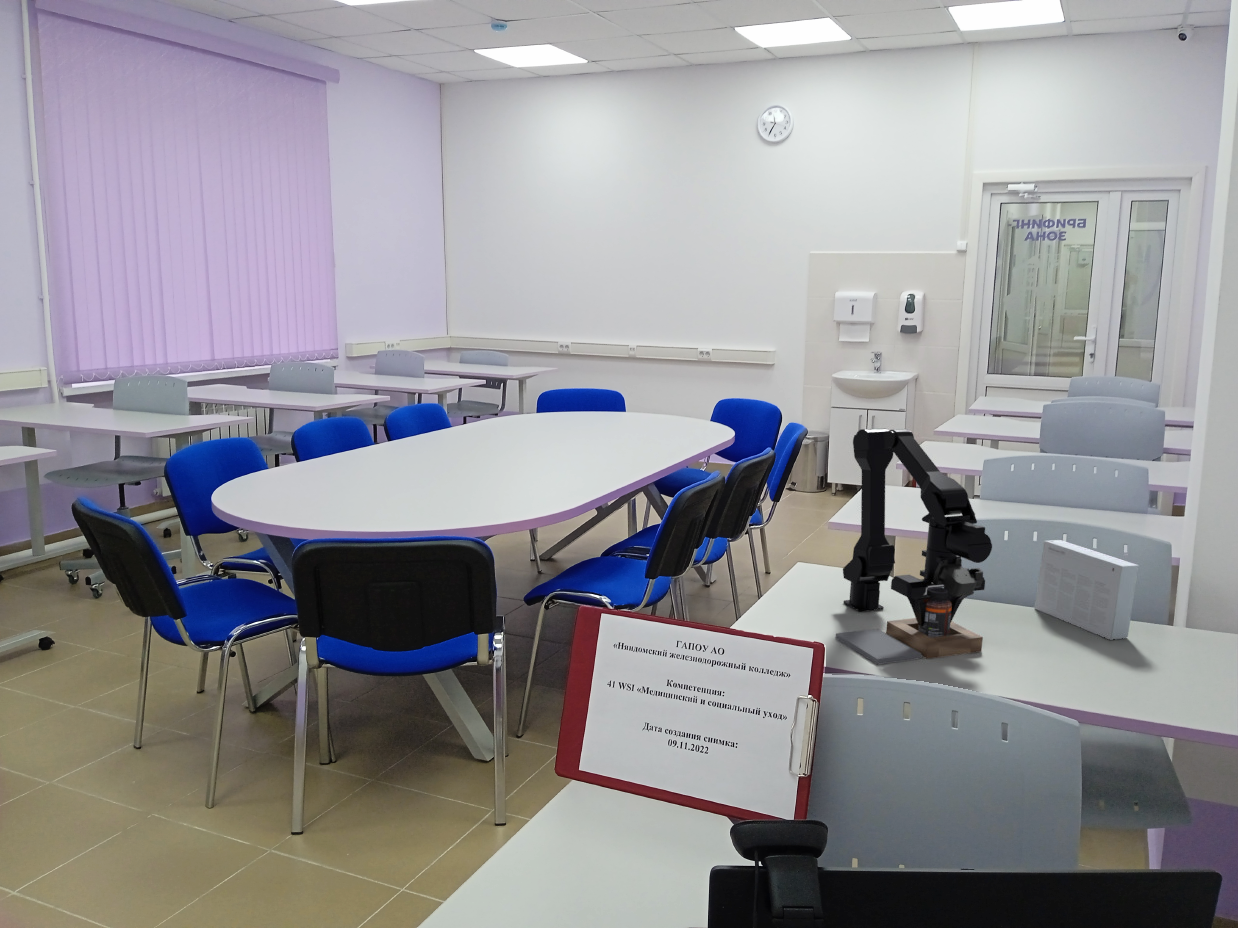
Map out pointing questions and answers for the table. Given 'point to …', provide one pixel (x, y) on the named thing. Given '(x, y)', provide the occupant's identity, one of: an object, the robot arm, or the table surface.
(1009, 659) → the table surface
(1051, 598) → the skincare box
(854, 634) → the rubber mat
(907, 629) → the collar block
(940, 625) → the supplement bottle
